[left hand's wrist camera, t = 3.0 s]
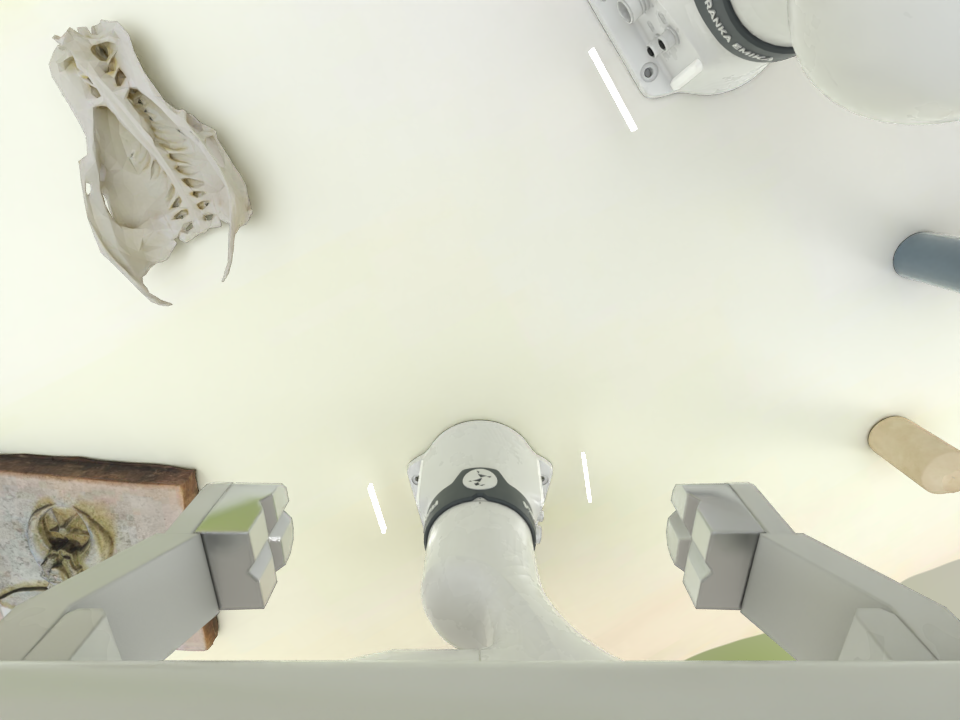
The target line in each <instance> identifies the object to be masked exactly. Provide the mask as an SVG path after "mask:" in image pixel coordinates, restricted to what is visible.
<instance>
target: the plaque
mask: <svg viewBox="0 0 960 720" xmlns="http://www.w3.org/2000/svg"><path fill="white" fill-rule="evenodd" d="M195 472H196V470H186V469H181V468H177V467H172V466H164V465H155V464H134V463H119V462H106V461H95V460H90V459H86V458H81V457H49V456H38V455H27V454H17V455H0V620H2V619H3V618H4V617H5V616H6V615H7V614H8V613H9V612H10V611H11V610H12V609H13V608H14V607H15V606H17V605H19V604H21V603H23V602H25V601H26V600H28V599H30V598H32V597H34V596H36V595H38V594H40V593H42V592H44V591H46V590H48V589H50V588H52V587H54V586H56V585H57V584H59V583H61V582H63V581H65V580H67V579H69V578H71V577H73V576H75V575H77V574H79V573H81V572H83V571H85V570H87V569H89V568H90V567H92V566H94V565H96V564H98V563H100V562H102V561H104V560H106V559H108V558H110V557H112V556H114V555H116V554H118V553H120V552H121V551H123V550H125V549H127V548H129V547H131V546H133V545H135V544H137V543H139V542H141V541H143V540H145V539H147V538H149V537H151V536H153V535H154V534H156V533H165V532H166V531H167V530H168V529H169V527H170V526H171V525H172V524H173V523H174V521H175V520H176V519H177V518H178V517H179V516H180V514H181V513H182V512H183V511H184V510H185V509H186V507H187V506H188V505H189V504H190V503H191V502H192V500H193V499H194V498H195V497H196V496H197V494H198V493H199V492H198V488H197V481H196V479H195ZM217 635H218V621H217V618H216V616H215V617H214V618H212V619H211V620H210V621H209V622H208V623H207V624H205V625H204V626H203V627H202V628H201V629H200V630H198V631H197V632H196V633H195V634H194V635H193V636H191V637H190V638H189V639H188V640H187V641H186V642H184V643H183V644H182V645H181V646H180V647H179V648H177V649H176V650H185V651H205V650H208V649H209V648H210V647H211V646H212V645H213V642H214V640H215V638H216V637H217Z"/></svg>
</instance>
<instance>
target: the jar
mask: <svg viewBox="0 0 960 720" xmlns="http://www.w3.org/2000/svg"><path fill="white" fill-rule="evenodd" d="M893 265H894V269H895V271H896V272H897V274H899V275H900V276H901V277H903V278H907V279H910V280H914V281H918V282H921V283H925V284H928V285H932V286H935V287H939V288H943V289H946V290H950V291H953V292H957V293H960V237H956V236H950V235H944V234H938V233H932V232H919V233H916V234H913V235H911V236H910V237H908V238H907V239H905V240H904V241H903V242H902V243H901V244H900V245H899V247H898V248H897V250H896V252H895V255H894V259H893Z"/></svg>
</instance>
